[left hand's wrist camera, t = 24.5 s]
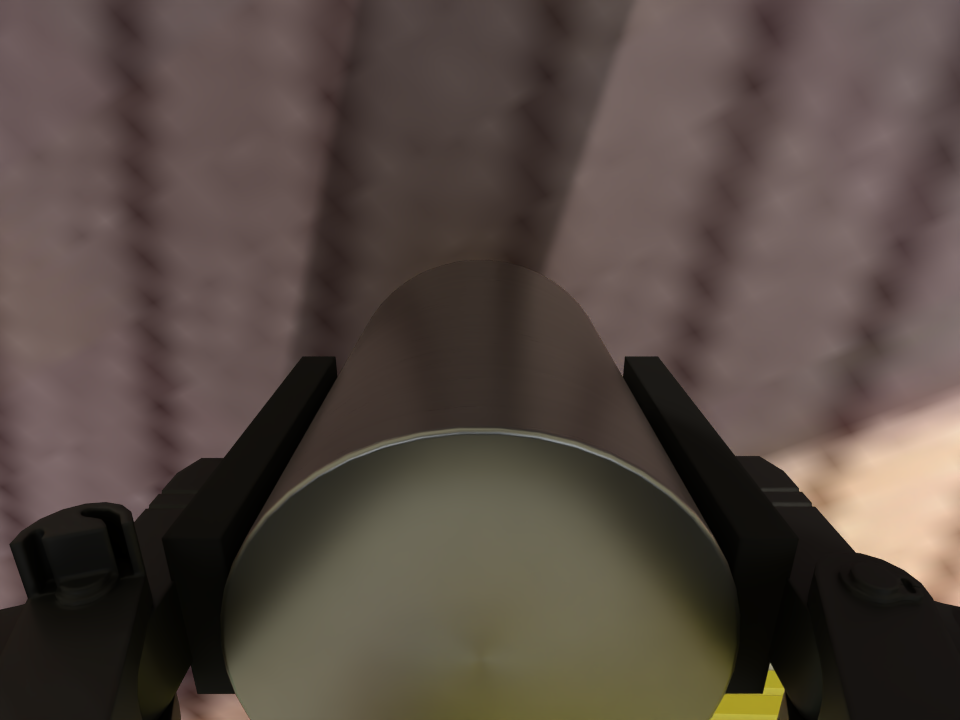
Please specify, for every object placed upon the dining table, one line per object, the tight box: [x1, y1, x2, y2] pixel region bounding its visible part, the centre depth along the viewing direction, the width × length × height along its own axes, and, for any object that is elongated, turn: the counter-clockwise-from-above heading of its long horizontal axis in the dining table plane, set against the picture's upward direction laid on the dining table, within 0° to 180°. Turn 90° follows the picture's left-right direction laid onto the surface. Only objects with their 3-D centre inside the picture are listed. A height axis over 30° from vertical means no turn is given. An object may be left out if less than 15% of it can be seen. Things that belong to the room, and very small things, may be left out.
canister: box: [220, 260, 740, 720], centre depth 12 cm, size 7×7×9 cm
